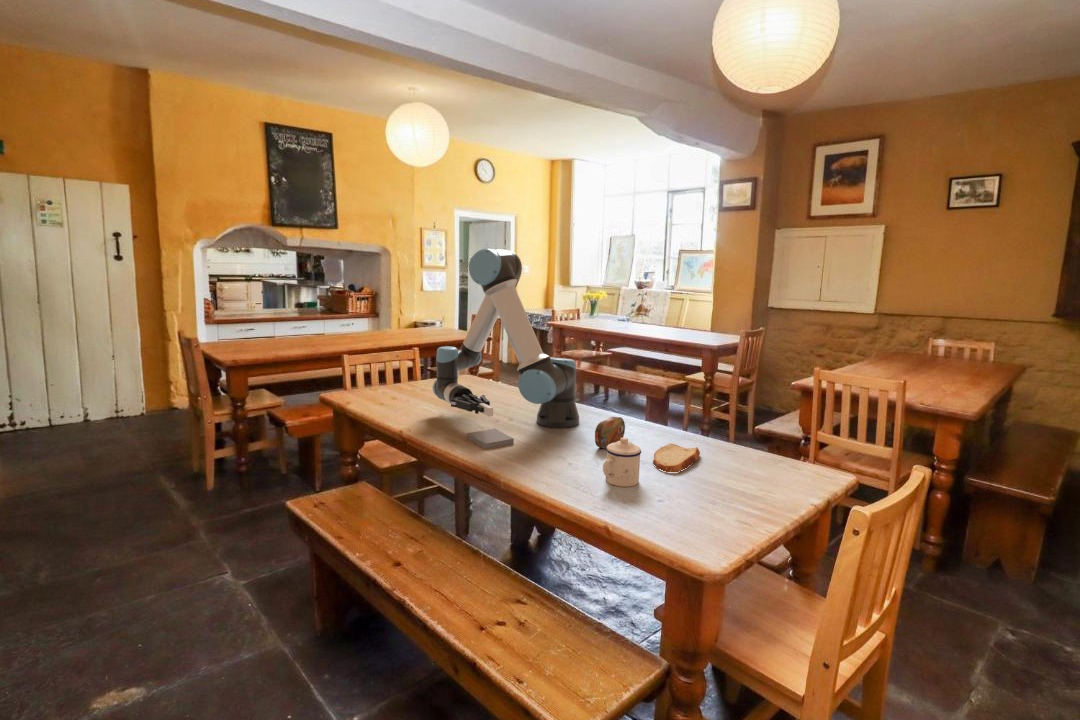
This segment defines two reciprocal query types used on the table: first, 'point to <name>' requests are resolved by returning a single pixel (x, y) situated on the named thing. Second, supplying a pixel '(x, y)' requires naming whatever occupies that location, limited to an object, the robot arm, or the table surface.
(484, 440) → the ceramic tile
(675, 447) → the bread slice
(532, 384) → the robot arm
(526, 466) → the table surface
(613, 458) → the teacup with lid
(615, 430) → the tin
